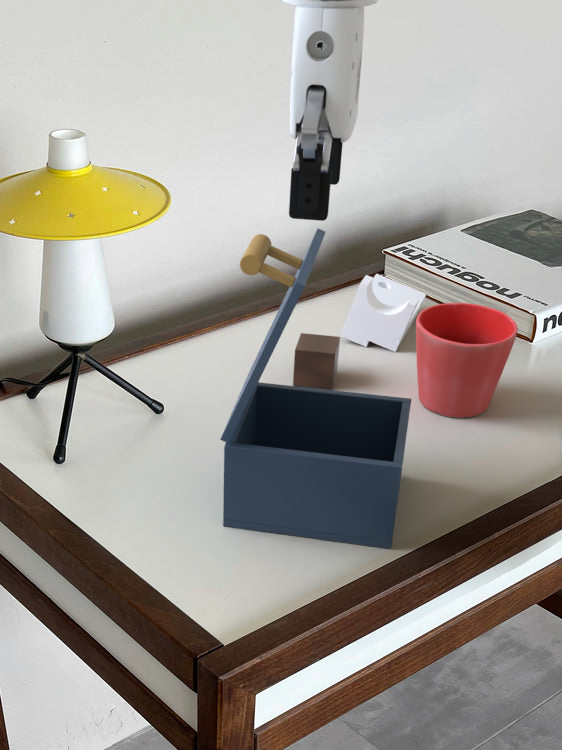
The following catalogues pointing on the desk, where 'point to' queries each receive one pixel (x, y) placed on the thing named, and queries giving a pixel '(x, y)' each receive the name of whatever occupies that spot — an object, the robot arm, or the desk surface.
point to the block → (316, 361)
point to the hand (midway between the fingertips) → (315, 199)
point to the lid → (251, 266)
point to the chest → (316, 464)
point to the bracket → (382, 312)
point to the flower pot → (461, 356)
